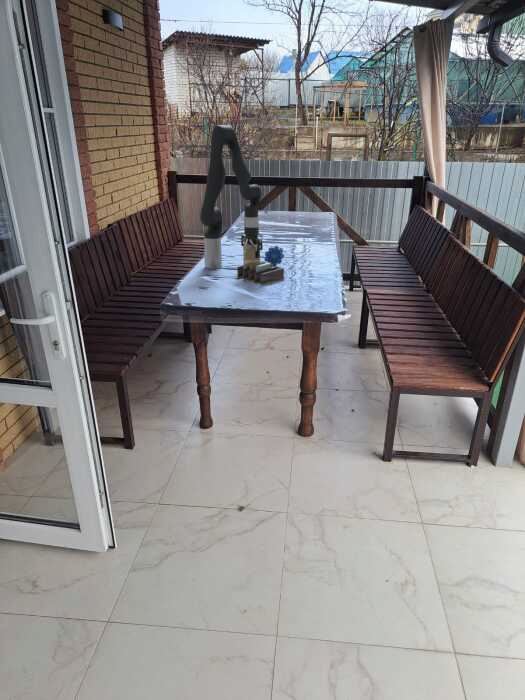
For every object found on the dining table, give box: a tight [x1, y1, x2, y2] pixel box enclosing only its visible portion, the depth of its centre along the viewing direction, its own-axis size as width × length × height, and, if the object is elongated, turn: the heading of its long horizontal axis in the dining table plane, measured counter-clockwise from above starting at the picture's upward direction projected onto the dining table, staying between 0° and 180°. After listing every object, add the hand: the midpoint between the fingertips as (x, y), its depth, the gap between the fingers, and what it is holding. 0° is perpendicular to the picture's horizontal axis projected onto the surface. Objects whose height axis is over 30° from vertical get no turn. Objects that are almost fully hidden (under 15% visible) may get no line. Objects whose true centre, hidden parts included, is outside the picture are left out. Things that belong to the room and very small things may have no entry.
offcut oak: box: [250, 260, 266, 270], centre depth 259 cm, size 2×9×7 cm, turn 133°
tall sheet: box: [242, 245, 261, 268], centre depth 260 cm, size 2×10×16 cm, turn 133°
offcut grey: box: [256, 262, 271, 272], centre depth 256 cm, size 2×9×7 cm, turn 133°
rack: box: [234, 264, 287, 286], centre depth 258 cm, size 22×18×6 cm
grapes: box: [263, 245, 285, 267], centre depth 279 cm, size 12×7×12 cm, turn 75°
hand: (251, 256), depth 259 cm, fingers open, 8 cm apart
